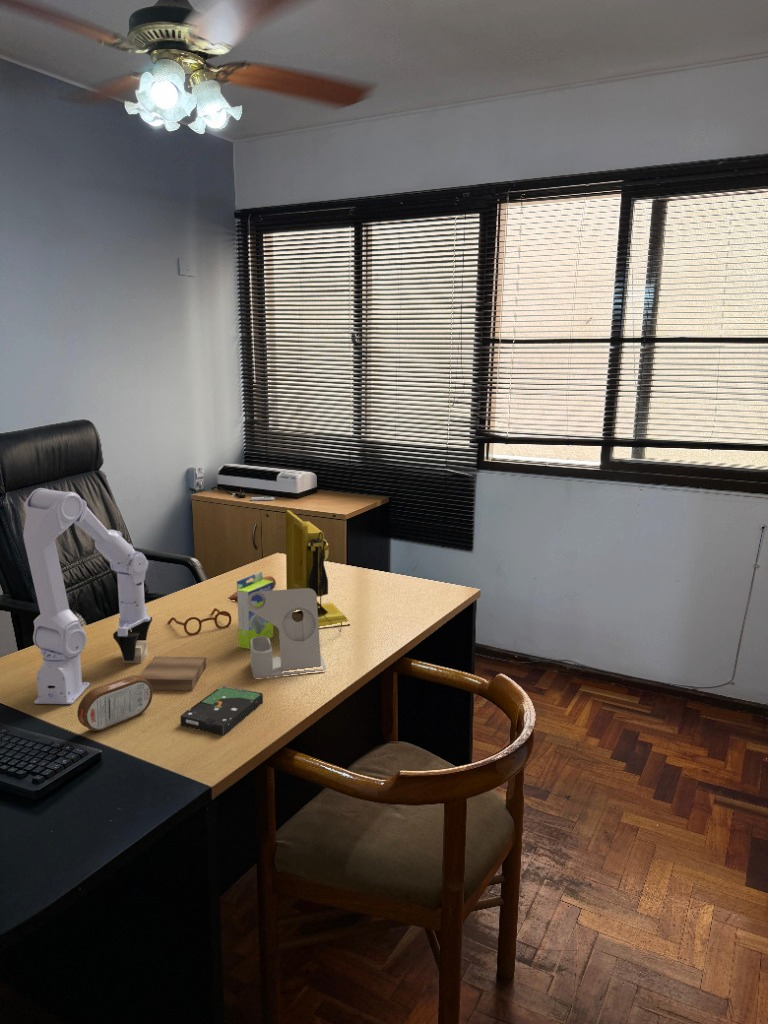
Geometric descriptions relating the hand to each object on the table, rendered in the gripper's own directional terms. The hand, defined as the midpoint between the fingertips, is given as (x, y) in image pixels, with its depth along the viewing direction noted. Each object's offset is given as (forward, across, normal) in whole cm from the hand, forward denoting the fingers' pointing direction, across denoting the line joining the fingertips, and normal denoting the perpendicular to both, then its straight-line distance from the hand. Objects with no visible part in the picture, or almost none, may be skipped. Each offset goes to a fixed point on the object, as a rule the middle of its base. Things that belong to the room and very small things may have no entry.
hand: (134, 653), depth 169 cm
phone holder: (+2, -3, -37) cm, 37 cm away
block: (+2, 0, 0) cm, 2 cm away
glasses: (+2, +24, -10) cm, 26 cm away
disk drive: (+2, -26, -27) cm, 38 cm away
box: (+2, +12, -27) cm, 30 cm away
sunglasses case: (+2, +50, -19) cm, 54 cm away
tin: (+2, -30, -7) cm, 31 cm away
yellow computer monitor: (+2, +28, -42) cm, 51 cm away
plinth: (+1, -10, -12) cm, 16 cm away
